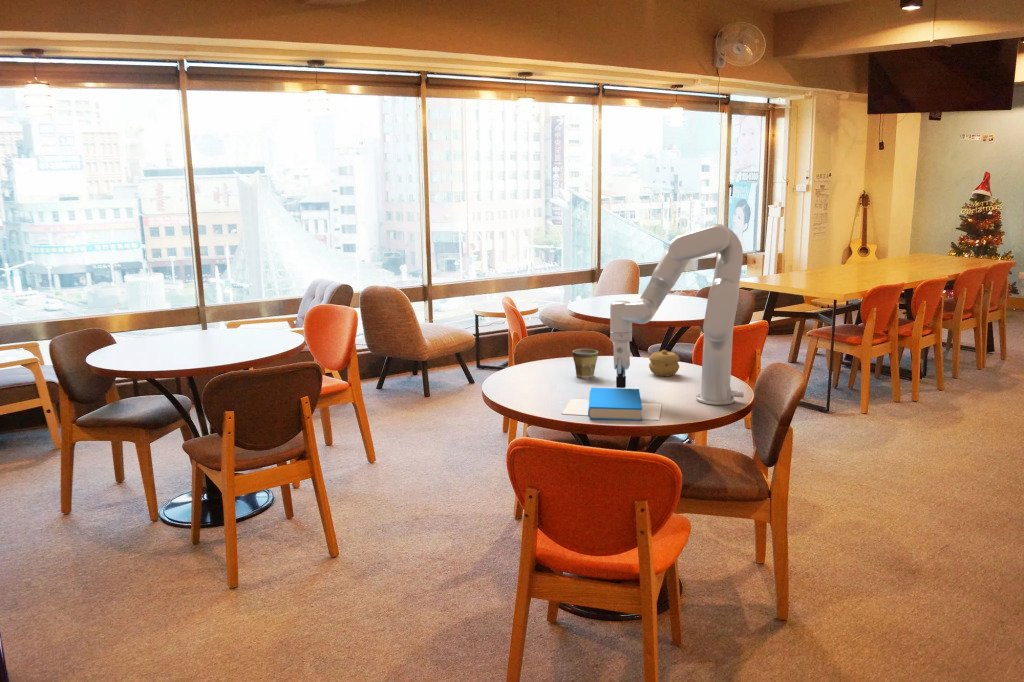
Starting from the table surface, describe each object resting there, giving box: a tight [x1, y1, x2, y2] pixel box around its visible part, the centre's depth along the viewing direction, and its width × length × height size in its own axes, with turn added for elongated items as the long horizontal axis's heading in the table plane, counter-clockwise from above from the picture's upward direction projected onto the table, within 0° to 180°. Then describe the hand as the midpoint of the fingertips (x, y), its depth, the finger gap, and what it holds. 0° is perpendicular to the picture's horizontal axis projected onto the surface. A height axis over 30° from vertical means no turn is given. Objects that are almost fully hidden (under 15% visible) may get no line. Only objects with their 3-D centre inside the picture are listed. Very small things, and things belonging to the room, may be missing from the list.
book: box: [588, 387, 643, 421], centre depth 263 cm, size 17×4×25 cm
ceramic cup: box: [572, 348, 599, 379], centre depth 310 cm, size 13×10×10 cm
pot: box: [648, 349, 680, 377], centre depth 311 cm, size 12×12×10 cm
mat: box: [561, 398, 663, 421], centre depth 263 cm, size 31×19×1 cm, turn 77°
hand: (620, 387), depth 282 cm, fingers closed
